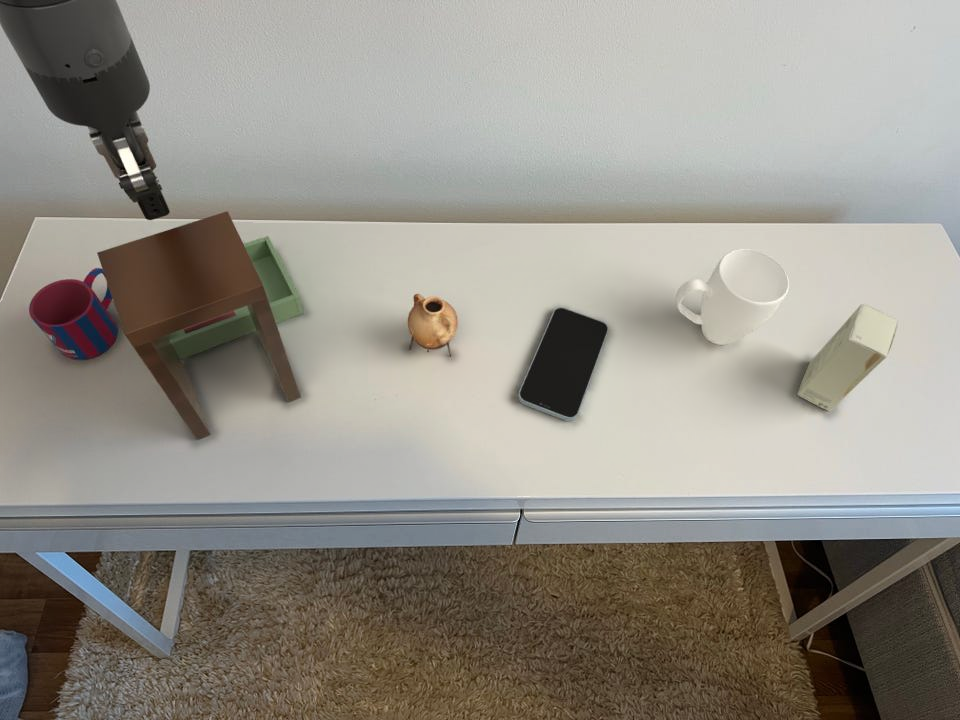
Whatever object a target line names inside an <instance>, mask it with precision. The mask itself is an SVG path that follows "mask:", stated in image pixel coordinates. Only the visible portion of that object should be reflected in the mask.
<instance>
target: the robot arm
mask: <svg viewBox="0 0 960 720" xmlns="http://www.w3.org/2000/svg"><path fill="white" fill-rule="evenodd" d="M0 27H1V29H2V31H3V32H4V34H5V35H6V38H7V39H8V41H9V43H10V44H11V46H12V48H13V50H14V52H15V53H16V55H17V57H18V58H19V61H20V62H21V64H22V66H23V67H24V69H25V71H26V72H27V74H28V76H29V77H30V80H31V82H32V83H33V84H34V86H35V88H36V90H37V92H38V93H39V95H40V97H41V99H42V100H43V102H44V105H46V107H47V109H48V110H49V111H50V113H51V114H52V115H53V116H55V117H56V118H57V119H59V120H61V121H63V122H65V123H67V124H70V125H74V126H80V127H87V129H88V131H89V132H88V135H89V138H90V140H91V142H92V144H93V147H94V148H95V150H96V151H97V153H98V155H100V156H102V157H103V158H104V159H105V161H106V164H107V165H108V167H109V169H110V171H111V172H112V174H113V176H114V178H116V179H118V181H119V182H118V186H119V187H120V189H121V190H123V191H124V193H125V195H127V197H128V198H129V200H131V202H132V203H137V205H138V207H139V208H140V210H141V212H142V213H141V214H142V215H143V217H144V218H145V219H146V220H147V221H153V220H157V219H160V218H163V217H166V216H168V215H170V213H171V211H170V208H169V206H168V204H167V201H166V199H165V196H164V194H163V192H162V191H163V188H162V187H163V186H162V185H161V183H160V180H159V177H158V176H156V174H155V172H154V170H155V169H156V168H157V163H156V161H155V158H154V156H153V154H152V152H151V150H150V146H149V138H148V135H147V133H146V131H145V128H144V126H143V123H142V122H141V121H142V120H141V119H140V117H139V114H138V111H139V110H140V109H141V108H142V107H143V106H144V105H145V103H146V102H147V100H148V98H149V96H150V91H151V87H150V86H151V85H150V81H149V77H148V75H147V72H146V70H145V67H144V65H143V62H142V61H141V58H140V55H139V53H138V51H137V48H136V45H135V43H134V41H133V38H132V36H131V32H130V30H129V28H128V26H127V24H126V21H125V18H124V16H123V13H122V11H121V9H120V6H119V4H118V2H117V0H0Z"/></svg>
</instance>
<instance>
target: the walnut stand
mask: <svg viewBox="0 0 960 720" xmlns="http://www.w3.org/2000/svg"><path fill="white" fill-rule="evenodd" d="M244 244H245V243H244V242H243V240H242V238H241V236H240V233H239V231H238V230H237V227H236V225H235V224H234V221H233V219H232V216H231V215H230V213H229V211H228V210H227V211H224V212H223V211H222V212H220V213H217V214H213V215H211V216H210V215H209V216H208V217H205V218H201V219H198V220H194V221H192V222H188V223H186V224H183V225H182V224H181V225H179V226H176V227H173V228H170V229H167V230H164V231H161V232H158V233H154V234H151V235H148V236H145V237H140V238H138V239H135V240H132V241H129V242H126V243H123V244H120V245H119V244H118V245H116V246H113V247H110V248H106V249H104V250H100V251H98V252H96V254H97V258H98V260H99V264H100V266H101V269H103V272H104V275H105V276H104V275H103V276H104V279H105V281H106V285H107V284H108V287H109V290H110V293H111V296H112V302H113V305H114V307H115V311H116V313H117V316H118V319H119V323H120V326H121V329H122V331H123V334H124V336H125V337H126V339H127V341H128V342H129V343H130V344H131V346H132V347H133V349H134V351H135V352H136V354H137V355H138V356H139V358H140V359H141V360H142V362H143V363H144V365H145V367H146V368H147V369H148V371H149V372H150V374H151V375H152V376H153V378H154V379H155V381H156V382H157V384H158V386H159V387H160V388H161V389H162V391H163V392H164V394H165V396H166V397H167V398H168V400H169V401H170V403H171V405H172V406H173V407H174V409H175V410H176V412H177V413H178V414H179V416H180V417H181V419H182V421H183V422H184V423H185V424H186V426H187V427H188V429H189V430H190V432H191V433H192V435H193V436H194V437H195V439H196V440H197V441H200V440H202V439H204V438H207V437H209V436H211V432H210V428H209V427H208V423H207V420H206V418H205V415H204V413H203V410H202V407H201V405H200V402H199V399H198V397H197V394H196V392H195V390H194V387H193V384H192V381H191V379H190V376H189V374H188V371H187V369H186V366H185V363H184V362H183V361H182V359H180V357H179V356H178V354H177V352H176V351H175V349H174V347H173V346H172V344H171V342H170V341H169V339H168V337H167V336H166V335H168V334H171V333H173V332H176V331H179V330H182V329H184V328H187V327H190V326H193V325H195V324H198V323H201V322H204V321H206V320H209V319H212V318H215V317H217V316H220V315H223V314H226V313H228V312H231V311H234V310H237V309H239V308H242V307H245V306H247V307H248V310H249V312H250V315H251V318H252V320H253V323H254V325H255V328H256V331H255V332H256V333H257V336H258V338H259V340H260V342H261V345H262V347H263V349H264V351H265V354H266V356H267V359H268V360H269V362H270V364H271V367H272V369H273V371H274V373H275V376H276V378H277V381H278V382H279V384H280V387H281V389H282V391H283V394H284V395H285V397H286V400H287V402H288V403H291V402H293V401H295V400H298V399H300V398H301V397H302V396H301V393H300V390H299V387H298V384H297V381H296V378H295V376H294V373H293V370H292V366H291V363H290V360H289V357H288V355H287V352H286V351H287V350H286V349H285V345H284V342H283V340H282V336H281V334H280V330H279V328H278V325H277V323H276V322H275V319H274V316H273V313H272V310H271V307H270V304H269V301H268V298H267V295H266V292H265V289H264V286H263V284H262V282H261V280H260V277H259V275H258V273H257V271H256V269H255V267H254V265H253V263H252V261H251V259H250V257H249V254H248V252H247V250H246V248H245V246H244Z"/></svg>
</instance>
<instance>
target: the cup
mask: <svg viewBox="0 0 960 720" xmlns="http://www.w3.org/2000/svg"><path fill="white" fill-rule="evenodd" d="M101 274H102V275H103V276H104V277H105V275H104V272H103V269H102V267H95V268H93V269H91V270H90V271H89V273H88V274H86V275H85V278H84V279H83V280H80V279H75V278H66V279H65V278H64V279H60V280H56V281H53V282H50V283H49V284H47V285H45V286H43V287H42V288H40V289H39V290H38V291H37V292H36V293H35V294H34V296H32V299H30V300H31V301H30V303H29V305H28V306H29V307H28V313H29V316H30V318H31V320H32V321H33V322H34V324H35V325H36V326H37V327H38V328H39V329H40V331H42V332H43V334H44V335H45V336H46V337H47V338H48V340H49V341H50V342H51V343H52V344H53V345H54V346H55V347H56V348H57V350H58V351H59V352H60V353H61V354H62V355H63V356H64V357H66V358H68V359H72V360H74V361H75V360H78V361H84V360H90V359H93V358H96V357H98V356H101V355H102V354H105V352H107V351H108V350H109V349H110V348H111V347H112V346H113V344H114V343H115V342H116V339H117V338H118V337H117V336H118V325H117V323H116V321H115V320H114V318H113V317H112V315H111V314H110V313H109V311H108V309H109V308H110V306H111V303H112V302H113V299H112V296H111V293H110V290H109V287H108V284H107V283H106V291H105V294H104V296H103V299H102V300H100V298H99V297H98V295H97V293H96V292H95V291H94V290H93V288H92V287H93V284H94V282H95V279H96V278H97V277H98V276H99V275H101Z"/></svg>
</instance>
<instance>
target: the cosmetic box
mask: <svg viewBox="0 0 960 720" xmlns="http://www.w3.org/2000/svg"><path fill="white" fill-rule="evenodd" d="M899 322H900V321H899V319H898V318H895V317H893V316H891V315H889V314H887V313H885V312H883V311H881V310H879V309H877V308H875V307H873V306H870V305H869V304H866V303H864V302H862V303H860V305H859V306H858V307H857V308H856V309H855V310H854V312H852V314H851V315H850V316H849V317H848V319H847V320H846V321H845V322H843V324H842V325H841V326H840V328H839V329H837V331H836V332H835V333H834V334H833V336H831V338H830V339H829V340H828V341H827V342H826V343H825V345H823V346H822V348H821V349H820V350H819V351H818V352H817V353H816V355H815V356H814V357H813V358H812V359H811V360H810V362H809V364H808V366H807V368H806V370H805V373H804V375H803V378H802V380H801V383H800V384H799V388H798V391H797V396H798V397H800V398H802V399H803V400H806V401H808V402H810V403H811V404H813V405H815V406H817V407H818V408H821V409H823V410H825V411H828V412H831V411H832V410H833V409H834V408H836V406H837V405H838V404H839V403H840V402H841V401H842V400H843V399H844V398H845V397H846V396H848V395H849V394H850V393H851V392H852V391H853V390H854V389H855V388H856V387H857V386H858V385H859V384H860V383H861V382H862V381H863V380H864V379H865V378H866V377H868V376H869V374H870V373H871V372H873V371H874V370H875V369H876V368H877V367H878V366H879V365H880V364H881V363H882V362H883V361H884V360H886V358H887V357H888V356H889V354H890V351H891V349H892V346H893V343H894V340H895V336H896V333H897V330H898V325H899Z"/></svg>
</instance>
